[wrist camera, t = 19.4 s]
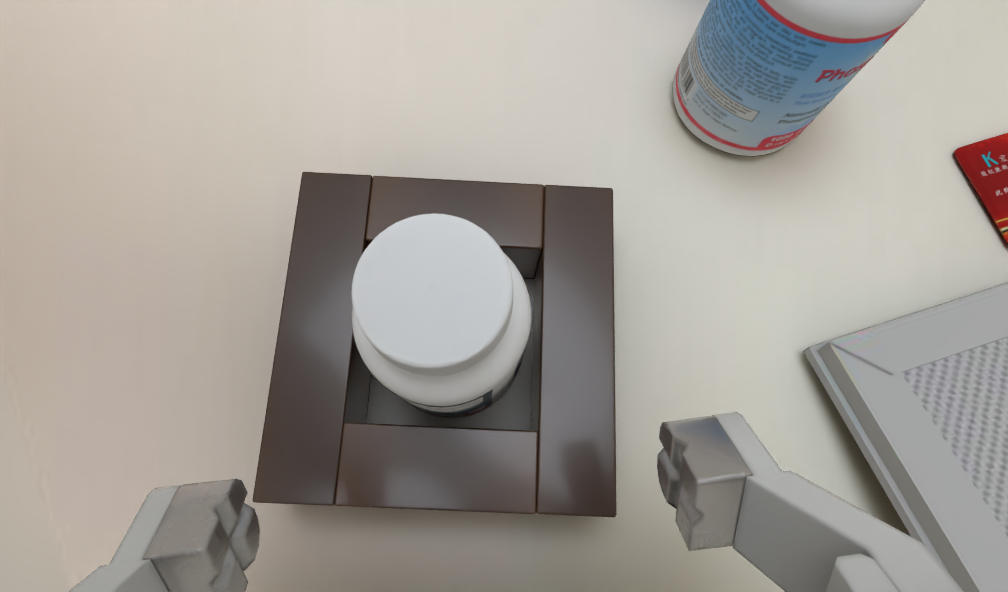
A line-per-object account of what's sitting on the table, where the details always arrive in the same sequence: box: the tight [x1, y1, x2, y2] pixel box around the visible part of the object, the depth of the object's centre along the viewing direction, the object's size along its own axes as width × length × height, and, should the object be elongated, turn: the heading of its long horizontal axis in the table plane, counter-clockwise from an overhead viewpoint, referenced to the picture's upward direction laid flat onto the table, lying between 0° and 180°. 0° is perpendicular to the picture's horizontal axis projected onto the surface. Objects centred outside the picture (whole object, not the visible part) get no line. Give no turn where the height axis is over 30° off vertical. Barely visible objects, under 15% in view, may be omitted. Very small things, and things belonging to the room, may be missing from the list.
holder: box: [253, 172, 616, 517], centre depth 21 cm, size 11×11×4 cm
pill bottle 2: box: [673, 0, 925, 156], centre depth 21 cm, size 6×6×11 cm
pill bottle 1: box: [351, 213, 531, 418], centre depth 18 cm, size 5×5×9 cm
